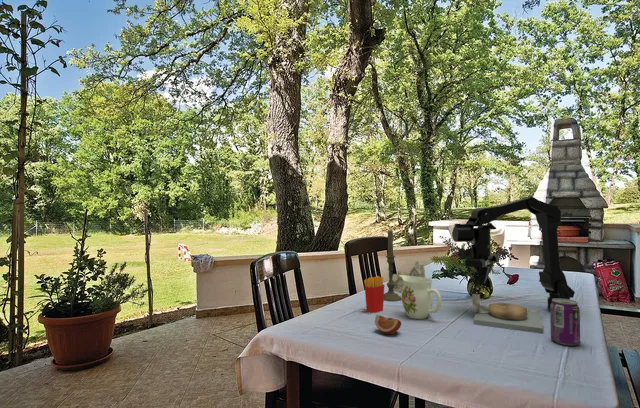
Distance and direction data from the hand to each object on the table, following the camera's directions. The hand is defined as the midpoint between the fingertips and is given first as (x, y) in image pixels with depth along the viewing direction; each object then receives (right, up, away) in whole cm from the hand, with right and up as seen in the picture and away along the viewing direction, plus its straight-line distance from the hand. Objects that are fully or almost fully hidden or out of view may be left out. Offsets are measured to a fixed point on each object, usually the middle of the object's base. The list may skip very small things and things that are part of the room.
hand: (482, 283), depth 134 cm
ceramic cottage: (-17, -12, +39) cm, 44 cm away
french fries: (-40, -11, +4) cm, 42 cm away
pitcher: (-25, -11, -5) cm, 28 cm away
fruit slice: (-39, -11, -21) cm, 46 cm away
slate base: (+5, -11, -9) cm, 15 cm away
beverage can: (+10, -11, -30) cm, 34 cm away
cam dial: (+2, -9, -8) cm, 12 cm away
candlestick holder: (-30, -12, +22) cm, 39 cm away
